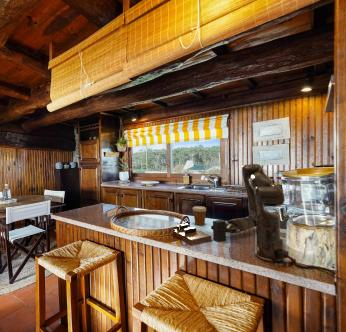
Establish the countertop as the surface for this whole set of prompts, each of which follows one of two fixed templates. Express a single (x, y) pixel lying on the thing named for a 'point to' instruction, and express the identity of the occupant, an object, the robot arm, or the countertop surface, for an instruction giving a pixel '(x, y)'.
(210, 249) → the countertop surface
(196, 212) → the disposable coffee cup
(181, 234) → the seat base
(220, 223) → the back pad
